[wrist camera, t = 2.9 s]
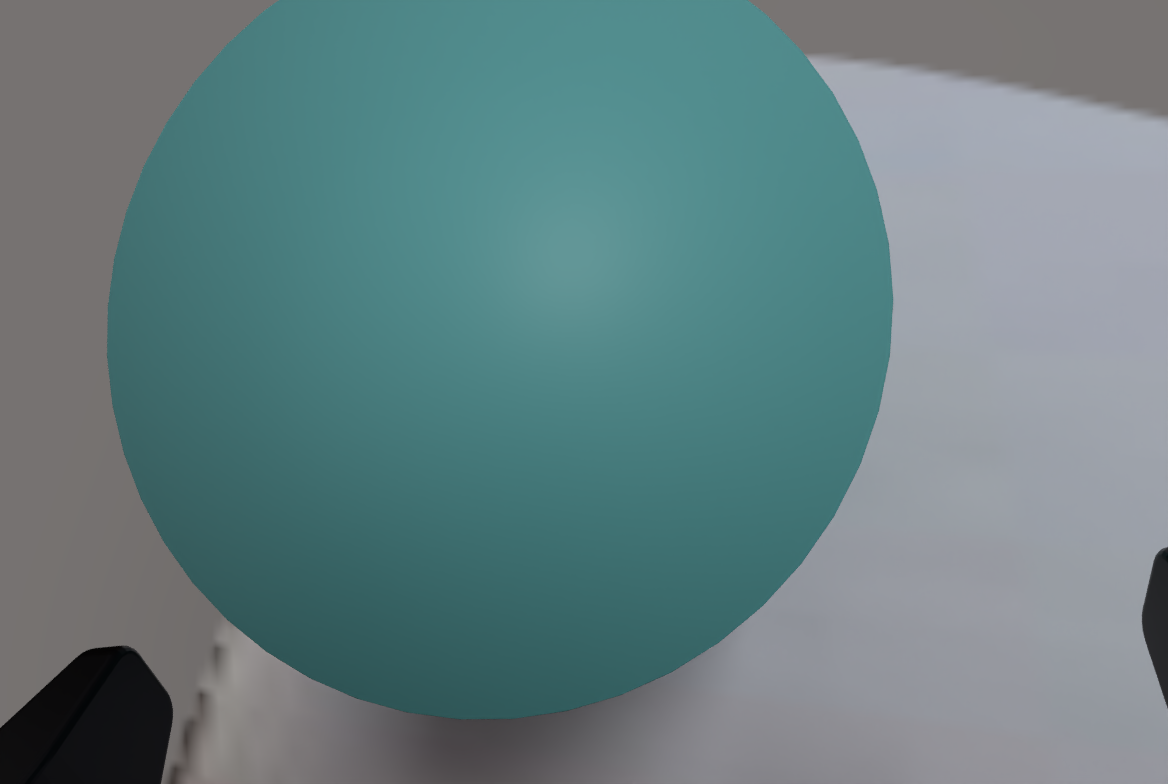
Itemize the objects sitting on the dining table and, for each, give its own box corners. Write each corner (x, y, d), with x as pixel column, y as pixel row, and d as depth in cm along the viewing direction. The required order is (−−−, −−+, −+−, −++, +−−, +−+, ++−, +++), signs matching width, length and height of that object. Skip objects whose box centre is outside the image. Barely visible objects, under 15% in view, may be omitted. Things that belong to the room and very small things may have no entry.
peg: (598, 603, 18) (240, 835, 6) (511, 372, 19) (21, 113, 6) (837, 512, 18) (1039, 538, 5) (738, 278, 19) (699, -210, 6)
